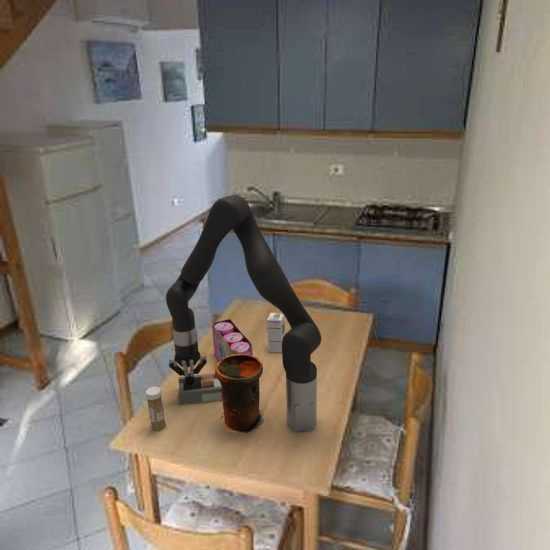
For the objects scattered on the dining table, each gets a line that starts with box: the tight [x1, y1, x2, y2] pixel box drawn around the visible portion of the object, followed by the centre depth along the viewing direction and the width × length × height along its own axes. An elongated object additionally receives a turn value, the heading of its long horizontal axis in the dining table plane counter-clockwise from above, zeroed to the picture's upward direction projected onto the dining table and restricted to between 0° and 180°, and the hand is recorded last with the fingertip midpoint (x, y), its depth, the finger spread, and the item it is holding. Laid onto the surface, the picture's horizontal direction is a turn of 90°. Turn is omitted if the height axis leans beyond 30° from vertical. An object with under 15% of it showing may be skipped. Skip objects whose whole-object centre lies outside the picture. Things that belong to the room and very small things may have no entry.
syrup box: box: [266, 312, 286, 354], centre depth 190 cm, size 6×6×14 cm
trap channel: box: [177, 372, 222, 406], centre depth 167 cm, size 9×22×4 cm, turn 100°
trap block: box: [200, 373, 214, 389], centre depth 166 cm, size 4×4×3 cm
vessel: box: [214, 354, 265, 434], centre depth 151 cm, size 14×14×20 cm
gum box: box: [211, 318, 254, 362], centre depth 180 cm, size 24×8×14 cm, turn 25°
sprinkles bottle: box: [145, 386, 167, 432], centre depth 150 cm, size 5×5×13 cm
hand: (190, 383), depth 166 cm, fingers closed
